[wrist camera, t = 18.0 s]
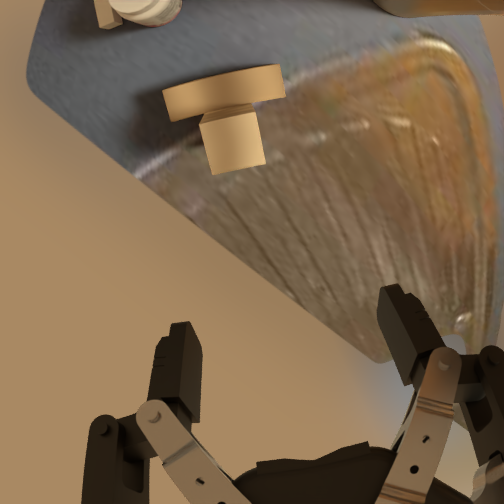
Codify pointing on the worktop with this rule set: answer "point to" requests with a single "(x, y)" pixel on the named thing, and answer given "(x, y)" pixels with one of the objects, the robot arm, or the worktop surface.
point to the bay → (107, 15)
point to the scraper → (228, 113)
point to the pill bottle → (147, 11)
